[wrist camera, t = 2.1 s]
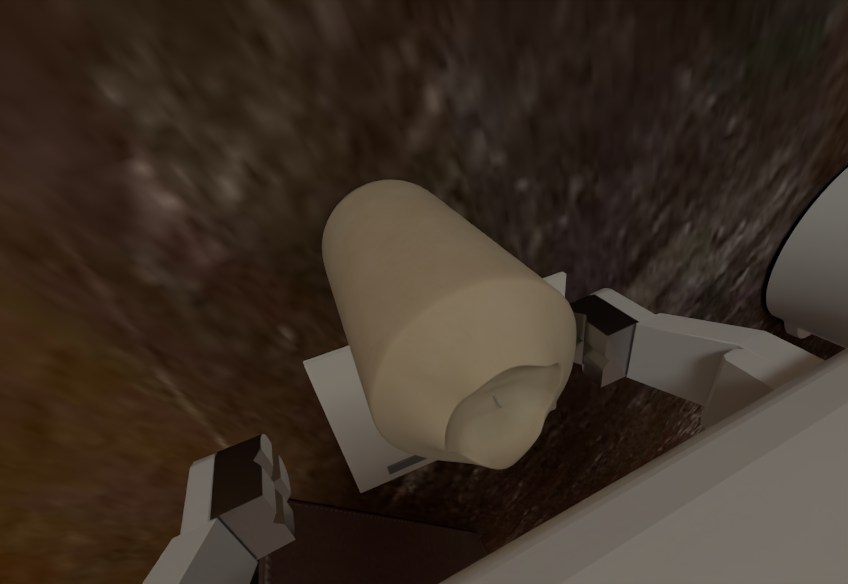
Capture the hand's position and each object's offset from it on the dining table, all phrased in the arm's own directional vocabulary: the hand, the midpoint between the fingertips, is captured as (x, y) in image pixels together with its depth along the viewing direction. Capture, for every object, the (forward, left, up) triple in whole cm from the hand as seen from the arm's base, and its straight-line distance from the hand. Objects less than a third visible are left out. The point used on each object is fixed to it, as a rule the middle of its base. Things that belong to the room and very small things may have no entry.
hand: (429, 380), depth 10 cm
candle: (-1, 0, -8) cm, 8 cm away
